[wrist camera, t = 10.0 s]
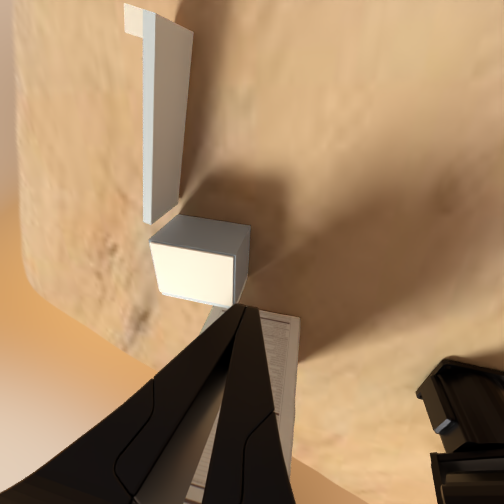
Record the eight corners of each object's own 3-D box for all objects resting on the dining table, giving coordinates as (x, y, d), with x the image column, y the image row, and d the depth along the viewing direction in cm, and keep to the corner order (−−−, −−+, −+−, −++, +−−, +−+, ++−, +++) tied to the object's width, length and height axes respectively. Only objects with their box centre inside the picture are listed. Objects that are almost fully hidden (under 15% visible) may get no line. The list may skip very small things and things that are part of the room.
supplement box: (217, 351, 31) (136, 557, 17) (213, 299, 26) (94, 530, 12) (292, 369, 29) (269, 610, 16) (303, 316, 24) (285, 605, 11)
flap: (169, 24, 14) (123, 2, 11) (193, 32, 14) (155, 13, 11) (161, 197, 20) (131, 217, 17) (178, 203, 20) (151, 224, 17)
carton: (250, 225, 20) (235, 256, 16) (247, 278, 23) (233, 314, 20) (178, 214, 21) (147, 240, 17) (184, 266, 24) (159, 298, 21)
